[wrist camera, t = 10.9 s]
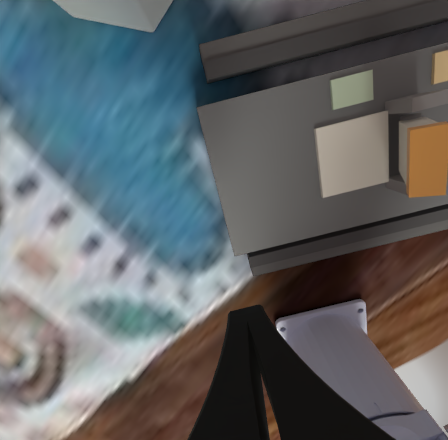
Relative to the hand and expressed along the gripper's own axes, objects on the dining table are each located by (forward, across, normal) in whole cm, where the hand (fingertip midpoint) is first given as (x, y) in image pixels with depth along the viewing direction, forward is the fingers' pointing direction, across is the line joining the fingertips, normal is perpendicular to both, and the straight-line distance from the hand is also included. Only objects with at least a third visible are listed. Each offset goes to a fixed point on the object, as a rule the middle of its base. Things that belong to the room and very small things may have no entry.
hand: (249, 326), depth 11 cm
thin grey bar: (+10, -12, +2) cm, 16 cm away
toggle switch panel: (+10, -14, -4) cm, 18 cm away
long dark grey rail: (+10, -12, -11) cm, 19 cm away
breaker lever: (+7, -12, -4) cm, 15 cm away
